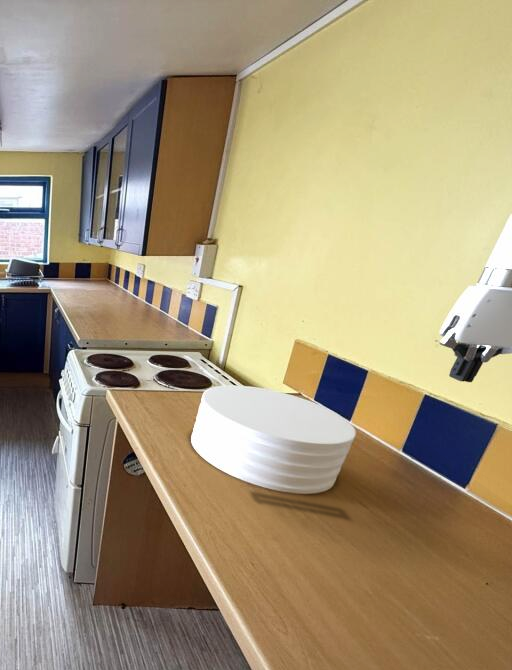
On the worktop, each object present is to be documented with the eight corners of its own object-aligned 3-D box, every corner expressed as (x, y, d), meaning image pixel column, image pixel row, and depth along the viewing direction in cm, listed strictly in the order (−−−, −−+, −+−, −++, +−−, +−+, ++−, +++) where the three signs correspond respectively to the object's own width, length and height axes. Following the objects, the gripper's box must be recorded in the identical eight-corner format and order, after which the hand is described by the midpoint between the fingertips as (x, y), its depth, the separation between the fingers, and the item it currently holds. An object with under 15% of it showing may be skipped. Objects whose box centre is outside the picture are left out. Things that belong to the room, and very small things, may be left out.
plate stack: (354, 468, 88) (375, 421, 84) (302, 513, 73) (325, 459, 69) (227, 417, 109) (239, 377, 105) (166, 443, 94) (177, 399, 90)
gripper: (545, 282, 71) (491, 378, 78) (443, 274, 74) (400, 367, 81) (590, 287, 64) (527, 392, 71) (476, 279, 68) (426, 380, 75)
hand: (459, 379), depth 76 cm, fingers closed
